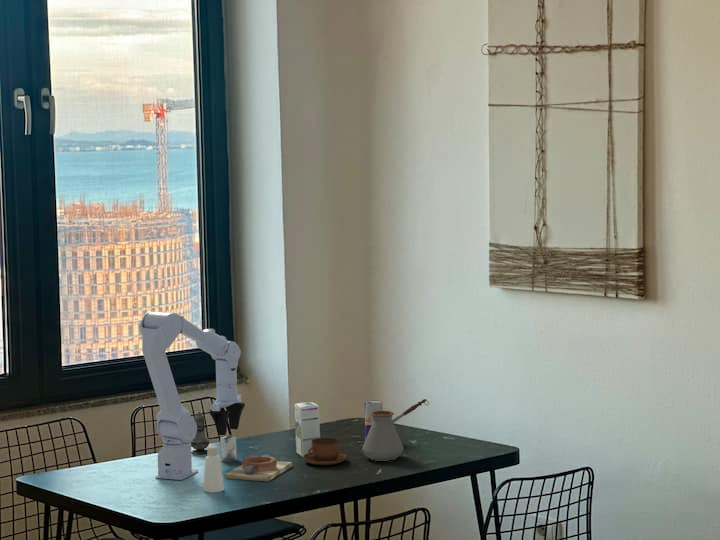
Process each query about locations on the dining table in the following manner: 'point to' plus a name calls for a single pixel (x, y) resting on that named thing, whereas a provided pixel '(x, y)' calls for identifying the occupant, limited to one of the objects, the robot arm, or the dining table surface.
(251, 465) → the coupling stand
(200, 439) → the grey flanged cylinder
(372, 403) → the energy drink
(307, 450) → the syrup box
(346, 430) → the dining table surface
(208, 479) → the white squeeze bottle
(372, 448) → the coffee pot
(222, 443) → the cylinder
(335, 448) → the cup and saucer
